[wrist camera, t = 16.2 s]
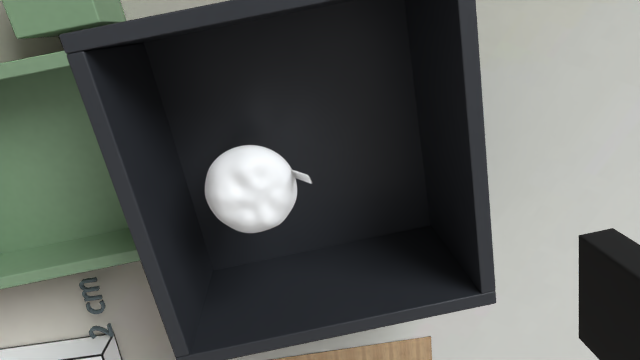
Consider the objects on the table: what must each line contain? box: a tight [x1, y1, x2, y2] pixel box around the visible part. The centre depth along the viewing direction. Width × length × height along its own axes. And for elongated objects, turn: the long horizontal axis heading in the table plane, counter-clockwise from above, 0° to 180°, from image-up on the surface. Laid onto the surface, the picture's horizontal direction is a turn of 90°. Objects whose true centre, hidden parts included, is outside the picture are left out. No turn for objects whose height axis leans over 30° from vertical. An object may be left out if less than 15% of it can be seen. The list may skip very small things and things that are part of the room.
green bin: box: [0, 51, 140, 289], centre depth 28 cm, size 13×13×5 cm
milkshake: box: [205, 124, 312, 233], centre depth 26 cm, size 5×5×10 cm
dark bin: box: [59, 0, 496, 360], centre depth 27 cm, size 18×18×10 cm
